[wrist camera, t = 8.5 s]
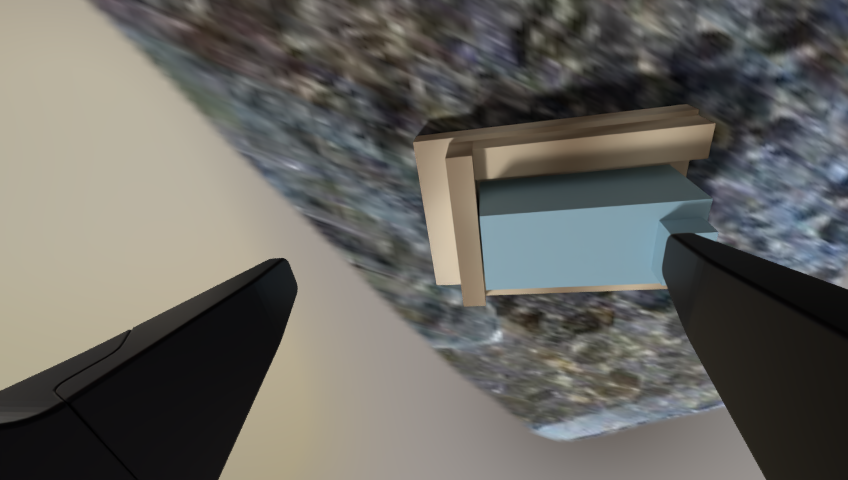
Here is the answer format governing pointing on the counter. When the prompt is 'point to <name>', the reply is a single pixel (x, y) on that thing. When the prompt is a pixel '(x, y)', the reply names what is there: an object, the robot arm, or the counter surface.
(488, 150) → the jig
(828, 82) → the counter surface
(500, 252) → the blue stepped block
